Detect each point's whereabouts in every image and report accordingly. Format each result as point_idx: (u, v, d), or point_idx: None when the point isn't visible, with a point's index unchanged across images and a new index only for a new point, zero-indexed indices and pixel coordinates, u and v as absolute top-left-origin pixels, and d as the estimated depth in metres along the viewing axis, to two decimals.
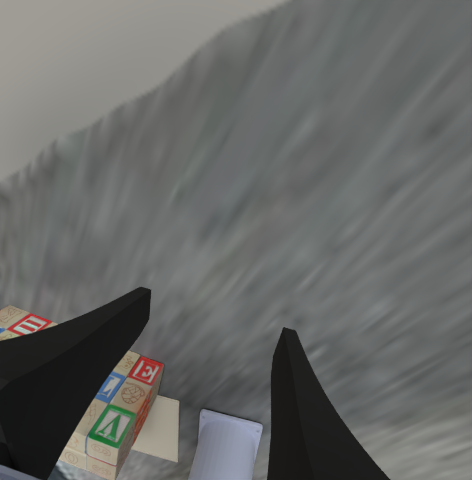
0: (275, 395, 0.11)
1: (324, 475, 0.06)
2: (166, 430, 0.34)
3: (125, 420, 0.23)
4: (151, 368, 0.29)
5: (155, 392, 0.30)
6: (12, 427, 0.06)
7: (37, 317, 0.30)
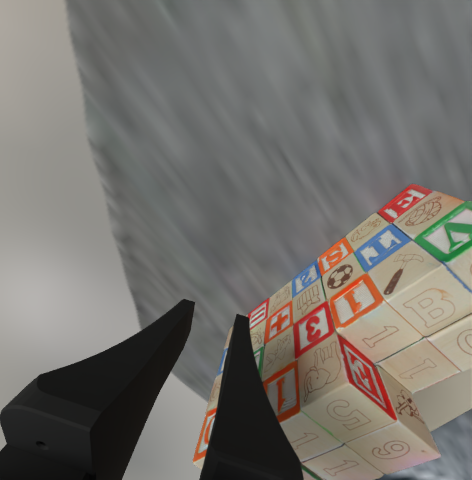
0: (222, 379, 0.11)
1: (222, 442, 0.06)
2: None
3: (465, 215, 0.12)
4: (405, 197, 0.18)
5: None
6: (97, 458, 0.06)
7: (256, 308, 0.24)
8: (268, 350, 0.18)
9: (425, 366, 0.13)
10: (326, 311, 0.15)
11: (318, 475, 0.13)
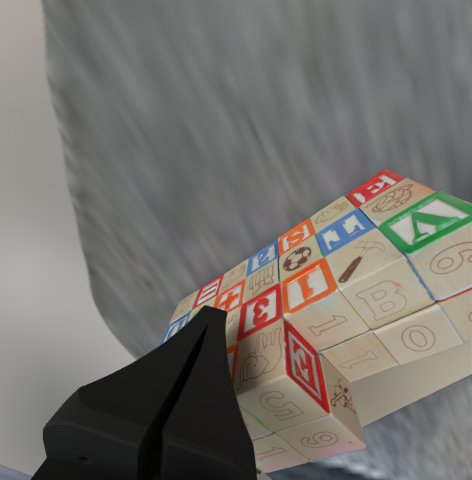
0: None
1: (176, 426, 0.06)
2: None
3: (434, 205, 0.11)
4: (375, 183, 0.16)
5: None
6: (140, 472, 0.06)
7: (208, 284, 0.23)
8: None
9: (366, 357, 0.13)
10: (277, 294, 0.14)
11: None
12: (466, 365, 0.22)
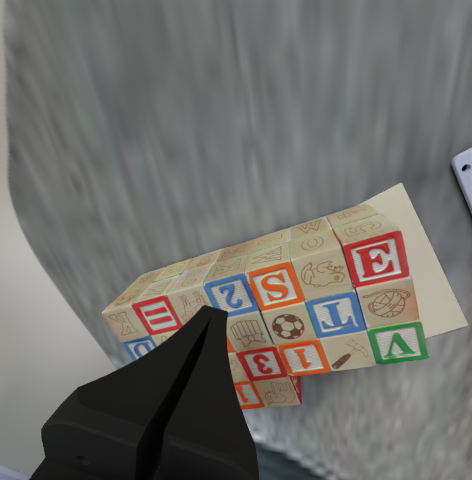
0: None
1: (177, 427, 0.06)
2: (413, 266, 0.20)
3: (410, 332, 0.15)
4: (381, 251, 0.14)
5: None
6: (139, 472, 0.06)
7: (145, 303, 0.18)
8: None
9: None
10: (276, 356, 0.18)
11: None
12: None
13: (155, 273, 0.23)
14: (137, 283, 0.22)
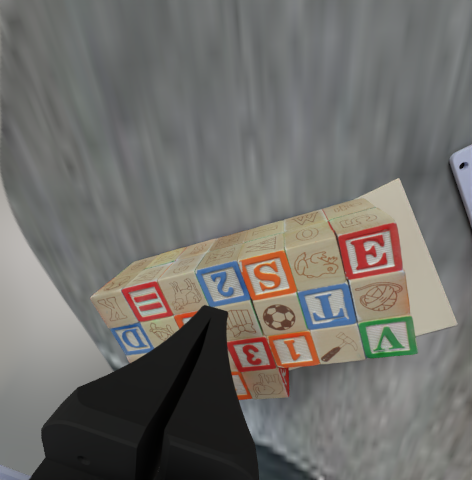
0: None
1: (177, 427, 0.06)
2: (406, 264, 0.20)
3: (400, 327, 0.15)
4: (376, 243, 0.13)
5: None
6: (139, 472, 0.06)
7: (135, 289, 0.17)
8: None
9: None
10: (265, 347, 0.17)
11: None
12: None
13: (147, 260, 0.23)
14: (128, 270, 0.22)
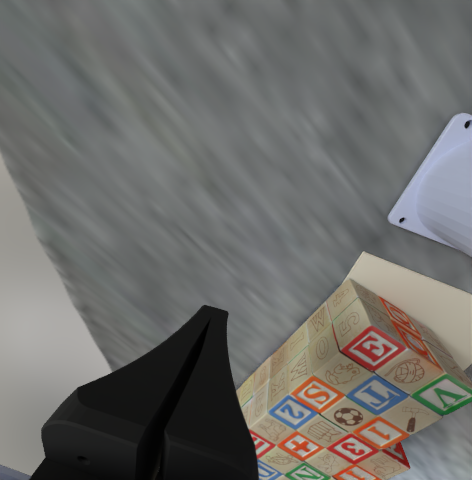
0: None
1: (177, 427, 0.06)
2: (427, 298, 0.21)
3: (446, 383, 0.16)
4: (370, 341, 0.16)
5: (371, 303, 0.19)
6: (139, 472, 0.06)
7: None
8: (315, 463, 0.22)
9: None
10: (357, 440, 0.20)
11: None
12: None
13: None
14: None
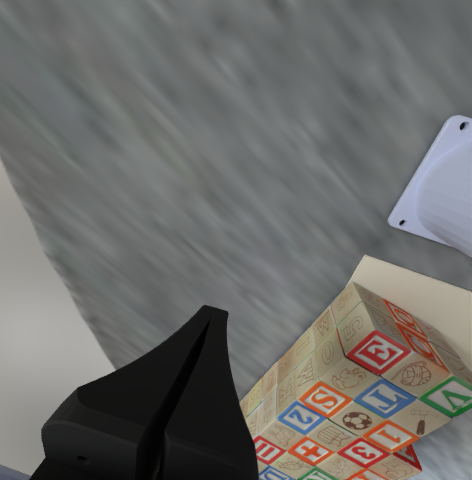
0: None
1: (178, 427, 0.06)
2: (431, 298, 0.21)
3: (454, 385, 0.16)
4: (375, 345, 0.17)
5: (375, 306, 0.19)
6: (139, 472, 0.06)
7: None
8: (326, 468, 0.22)
9: None
10: (368, 444, 0.20)
11: None
12: None
13: (245, 402, 0.28)
14: None
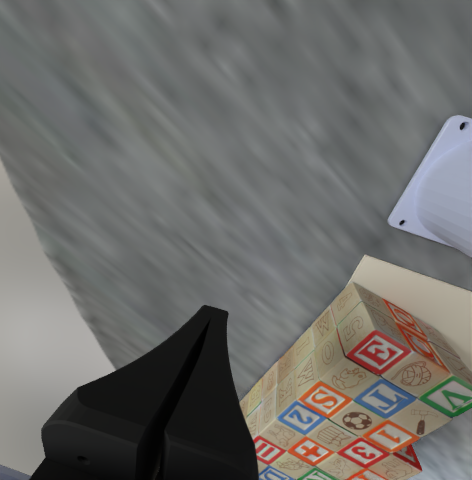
0: None
1: (178, 427, 0.06)
2: (431, 298, 0.21)
3: (454, 385, 0.16)
4: (375, 345, 0.17)
5: (375, 306, 0.19)
6: (139, 472, 0.06)
7: None
8: (326, 468, 0.22)
9: None
10: (368, 444, 0.20)
11: None
12: None
13: (245, 402, 0.28)
14: None
